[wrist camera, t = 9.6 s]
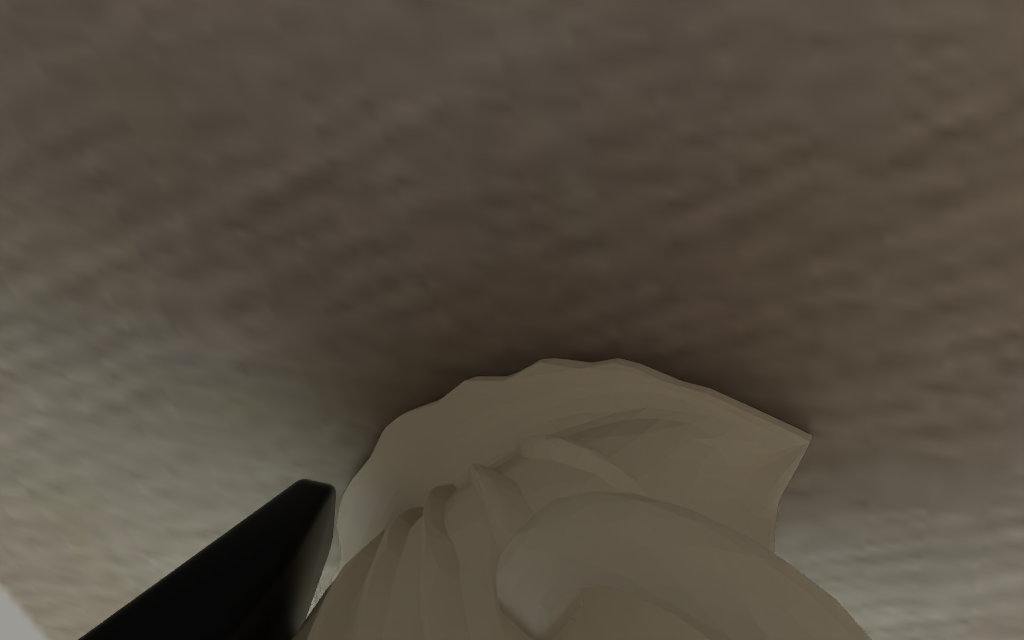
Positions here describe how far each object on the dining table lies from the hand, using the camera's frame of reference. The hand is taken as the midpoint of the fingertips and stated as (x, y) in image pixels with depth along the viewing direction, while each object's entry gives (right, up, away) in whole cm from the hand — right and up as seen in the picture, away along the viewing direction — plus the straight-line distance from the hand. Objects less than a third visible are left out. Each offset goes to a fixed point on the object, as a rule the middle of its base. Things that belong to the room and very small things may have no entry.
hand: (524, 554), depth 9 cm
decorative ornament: (0, +1, +1) cm, 1 cm away
